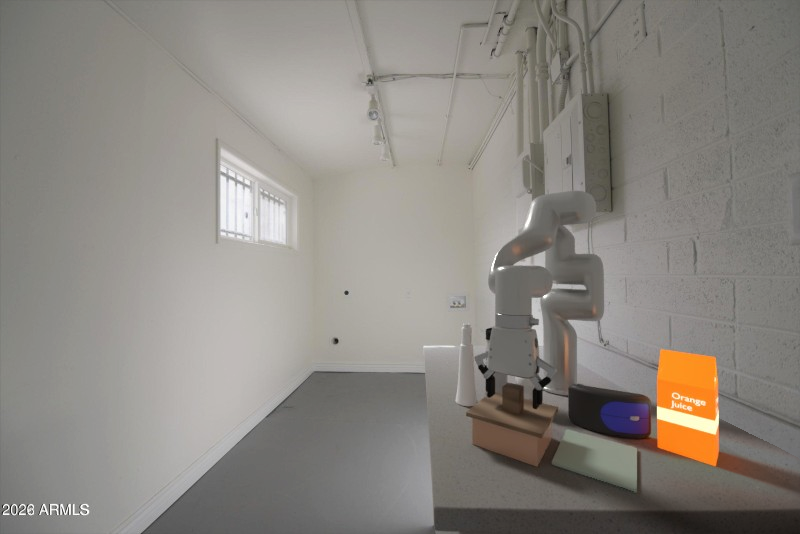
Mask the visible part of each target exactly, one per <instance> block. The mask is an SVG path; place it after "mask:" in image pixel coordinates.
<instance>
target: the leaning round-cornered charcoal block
mask: <svg viewBox="0 0 800 534" xmlns="http://www.w3.org/2000/svg"><path fill="white" fill-rule="evenodd" d="M578 384H579V383H577V384H573V385H570V386H569V388H568V396H567V397H568V401H567V402H568V404H567V405H568V413H567V414H568V415H567V416H568V419H569V421H571V423H573V424H574V425H576V426H579V427H581V428H583V429H586V430H589V431H592V432H595V433H596V432H597V433H599V434H602V435H603V434H604V435H608V436H613V437H619V438H626V439H627V438H628V439H646V438H648V437H650V436H651V434H652V400H651V399H650V398H649V397H648V396H646V395H645V394H642V393H635V392H628V391H622V390H616V389H610V388H604V387H603V388H602V387H596V386H590V385H582V384H579V385H578Z"/></svg>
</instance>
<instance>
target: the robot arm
mask: <svg viewBox="0 0 800 534" xmlns="http://www.w3.org/2000/svg"><path fill="white" fill-rule="evenodd" d="M527 210H528V211H527V213H526V217H525V219H524V222H523V225H522V228H521V232H520V233H518V234H517V235H515V236H513V238H511V239H510V240H508V242H506V243H505V244H504V245H502V246H501V247H500V248H499V250H498V251H497V253H495V256H494V258H493V260H492V264H491V267H490V268H489V273H488V276H487V277H488V279H487V280H488V282H487V284H488V287H489V290H490V291H491V293H492V294H494V296H495V300H494V301H495V302H494V305H495V306H494V308H495V309H494V310H495V311H494V313H495V315H494V316H495V317H494V318H495V319H494V324H495V325H493V326H492V327H491V328H492V331H491V336H490V342H489V351H487V352H485V351H484V352H482V353H480V354H477V355H475V356H474V362H475V364H476V365H477V369H478V370H479V372H480V373H481V375H482V376H483V378H484V379H486V392H487V397H488V398H490V397H492V396H493V395H494V394H495V376H493V374H494V373H495V372H496V373H500V374H505V375H507V376H510V377H514V378H515V377H520V378H526V379H529V380H530V381H531V383H532V384H533V385H534V389H533V408H534V409H537V408H538V407H539V405H542V403H543V396H544V395H543V394H544V393H543V391H545V392H548V393H550V394H555V395H558V396H559V395H560V396H567V397H568V388H569V386H570V385H573V384H578V385H580V384H579V383H578V335H577V331H576V330H575V327H574V326H573V325H572V324H571V322H570V321H583V322H598V321H600V320H602V319H603V317H604V314H605V275H604V274H605V272H604V271H605V270H604V264H603V263H604V262H603V261H602V258H601V257H600V256H599V255H597V254H594V253H576V239H575V236H574V235H573V233H572V232H571V231H570V230H569V229H568V228H567V227H566V226H567V225H568V226H569V225H581V224H583V225H584V224H590V223H592V221H593V220H594V219H595V217H596V214H597V203H596V200H595V198H594V196H593V195H592V194H590V193H589V192H586V191H583V190H568V191H560V192H554V193H548V194H541V195H539V196H537V197H535V198H534V199H533V200H532V201H531V202H530V204H529V207H528V209H527ZM543 252H544V255H545V256H544V257H545V263H544V264H545V265H544V266H541V265H515V264H517V263H519V262H520V261H523V260H525V259H527V258H531V257H534V256H536V255H539V254H541V253H543ZM554 284H555V285H571V286H572V285H573V286H574V285H577V286H578V285H580V286H583V287H585V289H580V288H579V289H578V288H574V289H573V288H559V287H558V288H553V285H554ZM534 298H536V299H538V298H539V301H540V302H539V304H540V310H541V315H542V326H543V328H542V329H543V343H542V344H543V359H542V358H540V350H539V349H540V348H539V347H540V346H539V340H538V334H537V330H536V329H535V328H533V327H534V326H539V324H540V319H539V318H535V317H534V316H533V311H532V310H533V309H532V304H533V303H532V301H533V299H534ZM569 320H570V321H569ZM485 358H488V367H489V369H488V368H487V366H486V365H485V363H484V362H485V361H484V360H485ZM541 369H542V370H543V378H541V376H540V375H538V374H539V373H540V371H541Z"/></svg>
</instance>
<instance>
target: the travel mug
mask: <svg viewBox="0 0 800 534" xmlns="http://www.w3.org/2000/svg"><path fill="white" fill-rule="evenodd" d="M491 331H492V327H488V328H486V329H485V339H484V340H485V345H484V347H485V349H484V350H485V351H484V353H485V352H487V351H489V342H490V336H491ZM484 360H485V361H484V362H485V363H484V364H485V365H486V366H487V368H488V369H489V367H488V358H485V359H484ZM493 376H495V392H497V393H501V394H502V387H503V386H504V385H505V384H506V383H507V382H508V375H505V374H500V373H496V372H495V373H494V374H493ZM484 379H485V378H484ZM484 383H485V387H484V388H485V390H484V391H485V393H484V394H485V397H486V396H487V392H486V379H485V380H484Z"/></svg>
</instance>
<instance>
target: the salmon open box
mask: <svg viewBox="0 0 800 534" xmlns="http://www.w3.org/2000/svg"><path fill="white" fill-rule="evenodd" d="M471 429H472V437H471V438H472V442H471V443H472V445H474V446H477V447H479V448H482V449H485V450H489V451H491V452H494V453H497V454H499V455H502V456H505V457H508V458H512V459H514V460H517V461H520V462H522V463H526V464H528V465H531V466H534V467H538V466H539V464H540V462H541V461H542V459H543V456H544V455H545V453H546V451H547V448H548V447H549V445H550V443H551V442H552V440H553V421H552V422H551V423H550V425H549V427H548V428H547V430H546V432H545V434H544V435H543V437H542V438H538V437H535V436H532V435H528V434H525V433H522V432H518V431H515V430H512V429H508V428H505V427H501V426H498V425H495V424H491V423H488V422H485V421H481V420H478V419H475V418H472V428H471ZM549 442H550V443H549ZM545 450H546V451H545Z"/></svg>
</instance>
